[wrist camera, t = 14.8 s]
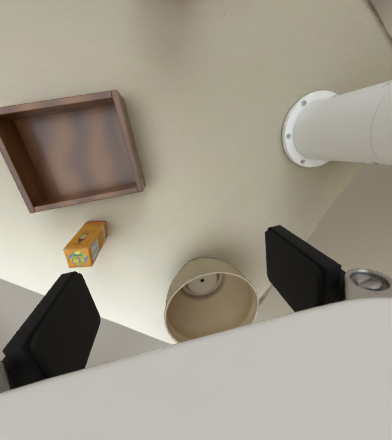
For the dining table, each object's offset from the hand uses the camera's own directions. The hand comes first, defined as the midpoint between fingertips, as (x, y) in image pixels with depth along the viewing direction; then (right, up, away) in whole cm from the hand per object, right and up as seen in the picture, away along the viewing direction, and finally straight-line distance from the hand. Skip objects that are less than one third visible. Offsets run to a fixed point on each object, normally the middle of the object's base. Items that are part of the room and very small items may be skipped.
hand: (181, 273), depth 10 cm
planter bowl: (+2, -9, +34) cm, 36 cm away
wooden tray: (-17, +13, +23) cm, 32 cm away
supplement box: (-17, +1, +27) cm, 32 cm away
